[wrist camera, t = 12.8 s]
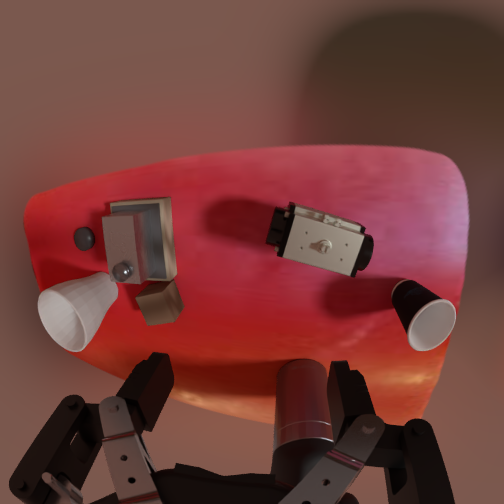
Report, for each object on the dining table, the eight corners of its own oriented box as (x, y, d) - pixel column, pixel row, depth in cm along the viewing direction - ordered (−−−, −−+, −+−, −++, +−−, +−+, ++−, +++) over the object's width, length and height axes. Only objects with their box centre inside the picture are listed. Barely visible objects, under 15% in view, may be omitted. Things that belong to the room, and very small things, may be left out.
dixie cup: (405, 260, 38) (439, 288, 28) (431, 287, 39) (464, 318, 28) (373, 297, 40) (397, 335, 30) (400, 321, 41) (426, 359, 31)
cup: (123, 260, 43) (75, 293, 30) (133, 315, 46) (94, 358, 33) (79, 258, 44) (30, 286, 31) (90, 309, 47) (49, 344, 34)
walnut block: (184, 306, 44) (174, 321, 39) (159, 310, 45) (147, 325, 40) (174, 279, 43) (162, 292, 38) (148, 284, 44) (135, 297, 39)
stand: (177, 273, 42) (169, 282, 39) (129, 271, 43) (119, 279, 40) (170, 196, 39) (161, 199, 36) (120, 200, 40) (108, 203, 36)
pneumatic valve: (344, 252, 39) (368, 285, 27) (267, 230, 39) (262, 255, 27) (356, 216, 37) (387, 236, 26) (278, 192, 37) (277, 201, 26)
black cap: (90, 253, 43) (85, 255, 42) (76, 239, 43) (71, 241, 41) (98, 235, 42) (93, 237, 41) (83, 222, 42) (78, 223, 40)
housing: (120, 210, 37) (97, 218, 31) (150, 209, 36) (129, 217, 30) (127, 269, 39) (107, 284, 33) (155, 270, 39) (137, 287, 33)
